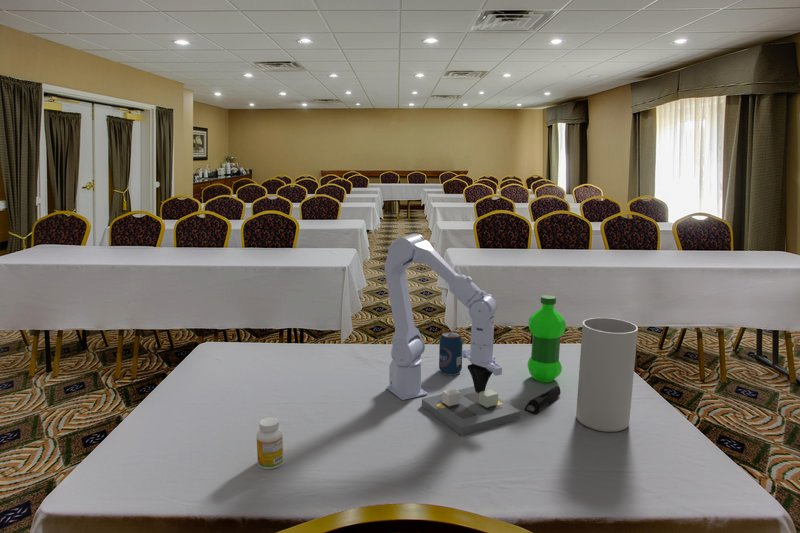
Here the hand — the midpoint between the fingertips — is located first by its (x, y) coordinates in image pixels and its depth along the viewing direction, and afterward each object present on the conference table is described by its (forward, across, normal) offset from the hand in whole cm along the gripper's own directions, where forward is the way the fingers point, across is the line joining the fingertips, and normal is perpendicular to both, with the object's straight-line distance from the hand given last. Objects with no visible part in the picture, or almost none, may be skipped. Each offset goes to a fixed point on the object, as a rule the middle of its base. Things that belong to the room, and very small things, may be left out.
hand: (479, 391), depth 148 cm
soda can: (+5, +24, -7) cm, 25 cm away
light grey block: (+2, +2, +8) cm, 8 cm away
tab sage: (+2, -4, 0) cm, 4 cm away
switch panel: (+4, -1, +4) cm, 6 cm away
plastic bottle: (+4, +6, -28) cm, 29 cm away
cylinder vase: (+4, -21, -22) cm, 31 cm away
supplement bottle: (+5, 0, +56) cm, 56 cm away
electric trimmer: (+5, -6, -16) cm, 18 cm away
